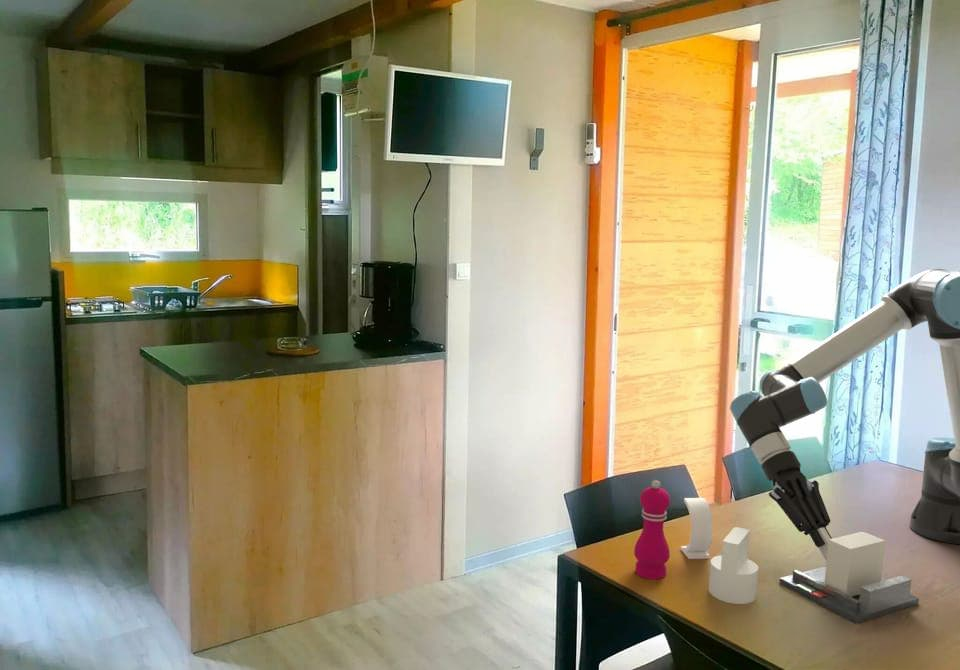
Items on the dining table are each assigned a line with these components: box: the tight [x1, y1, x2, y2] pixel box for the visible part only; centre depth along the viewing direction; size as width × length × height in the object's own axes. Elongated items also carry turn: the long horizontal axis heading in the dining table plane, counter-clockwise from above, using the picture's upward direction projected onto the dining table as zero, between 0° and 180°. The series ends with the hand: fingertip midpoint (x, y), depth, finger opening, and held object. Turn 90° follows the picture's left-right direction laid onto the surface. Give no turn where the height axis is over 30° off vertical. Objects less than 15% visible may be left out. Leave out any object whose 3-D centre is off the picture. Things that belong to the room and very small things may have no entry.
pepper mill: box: [633, 480, 671, 580], centre depth 166 cm, size 7×7×20 cm
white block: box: [825, 531, 886, 597], centre depth 159 cm, size 10×6×10 cm, turn 118°
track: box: [779, 565, 920, 625], centre depth 160 cm, size 18×18×6 cm
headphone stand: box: [680, 497, 714, 560], centre depth 177 cm, size 5×6×12 cm
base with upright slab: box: [708, 526, 759, 605], centre depth 159 cm, size 9×9×12 cm
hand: (834, 560), depth 163 cm, fingers closed
